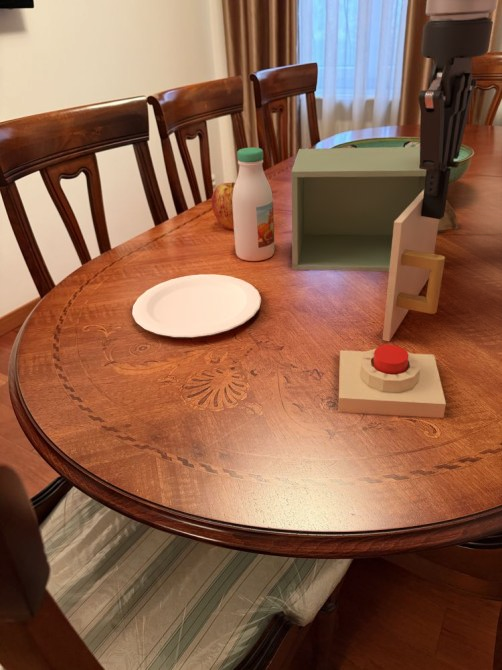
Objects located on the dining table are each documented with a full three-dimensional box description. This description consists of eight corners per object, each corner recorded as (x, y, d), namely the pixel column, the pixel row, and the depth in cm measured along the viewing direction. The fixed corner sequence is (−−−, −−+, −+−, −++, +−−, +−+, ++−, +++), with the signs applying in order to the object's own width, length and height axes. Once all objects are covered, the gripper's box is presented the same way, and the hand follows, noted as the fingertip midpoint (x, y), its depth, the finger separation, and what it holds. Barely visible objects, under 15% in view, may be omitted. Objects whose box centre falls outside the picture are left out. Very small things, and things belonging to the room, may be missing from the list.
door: (462, 279, 89) (481, 175, 79) (427, 351, 71) (446, 228, 62) (425, 273, 91) (439, 171, 82) (382, 340, 74) (394, 221, 65)
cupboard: (427, 272, 92) (442, 169, 82) (292, 270, 96) (291, 171, 86) (417, 238, 105) (429, 146, 96) (299, 237, 109) (298, 148, 99)
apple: (226, 217, 122) (222, 174, 116) (261, 221, 118) (259, 177, 113) (207, 231, 115) (202, 186, 109) (243, 236, 111) (240, 189, 106)
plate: (259, 278, 93) (259, 270, 92) (264, 341, 76) (263, 331, 75) (144, 285, 94) (142, 276, 93) (122, 349, 76) (120, 339, 75)
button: (405, 357, 64) (407, 345, 64) (408, 376, 61) (410, 364, 60) (372, 355, 65) (373, 343, 64) (373, 374, 62) (374, 362, 61)
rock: (464, 213, 109) (417, 203, 112) (471, 189, 101) (420, 178, 104) (448, 257, 106) (400, 245, 110) (454, 236, 99) (402, 223, 102)
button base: (431, 368, 68) (436, 342, 66) (443, 418, 60) (448, 391, 58) (339, 363, 70) (340, 338, 68) (338, 412, 62) (339, 385, 60)
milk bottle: (245, 265, 99) (238, 157, 88) (229, 251, 105) (221, 148, 94) (281, 256, 101) (279, 150, 90) (264, 243, 107) (260, 142, 96)
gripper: (447, 16, 66) (425, 199, 78) (403, 22, 57) (386, 225, 70) (509, 13, 62) (475, 207, 74) (472, 19, 53) (441, 236, 66)
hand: (432, 216), depth 72 cm, fingers closed
